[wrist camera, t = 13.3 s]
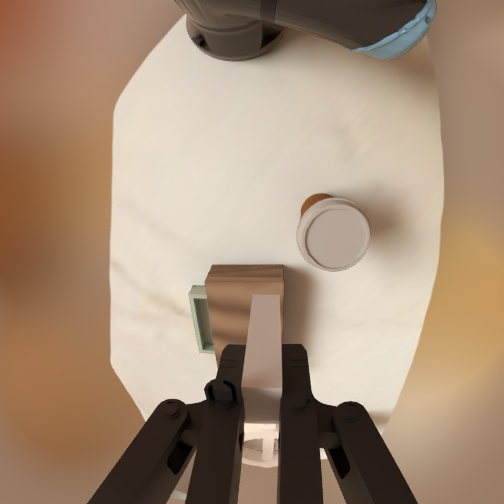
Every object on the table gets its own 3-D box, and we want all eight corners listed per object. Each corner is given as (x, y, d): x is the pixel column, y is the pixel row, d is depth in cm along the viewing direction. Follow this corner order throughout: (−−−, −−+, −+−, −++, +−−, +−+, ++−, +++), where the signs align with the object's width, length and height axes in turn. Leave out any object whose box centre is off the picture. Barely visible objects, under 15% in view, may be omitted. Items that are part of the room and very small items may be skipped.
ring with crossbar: (266, 461, 79) (266, 471, 75) (205, 434, 72) (203, 446, 68) (330, 437, 70) (332, 449, 65) (270, 406, 63) (270, 421, 59)
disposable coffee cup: (359, 200, 41) (387, 223, 30) (330, 250, 45) (347, 286, 34) (307, 172, 40) (321, 185, 29) (280, 225, 44) (283, 256, 33)
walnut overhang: (212, 264, 48) (204, 281, 42) (282, 264, 47) (283, 282, 41) (223, 356, 56) (219, 377, 51) (279, 358, 55) (280, 378, 50)
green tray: (192, 285, 50) (188, 294, 47) (258, 286, 49) (258, 295, 46) (202, 343, 55) (199, 352, 52) (260, 345, 54) (259, 355, 51)
